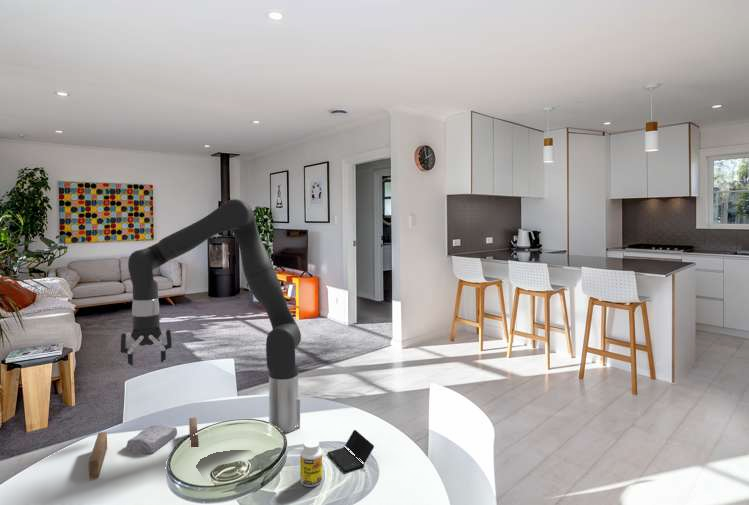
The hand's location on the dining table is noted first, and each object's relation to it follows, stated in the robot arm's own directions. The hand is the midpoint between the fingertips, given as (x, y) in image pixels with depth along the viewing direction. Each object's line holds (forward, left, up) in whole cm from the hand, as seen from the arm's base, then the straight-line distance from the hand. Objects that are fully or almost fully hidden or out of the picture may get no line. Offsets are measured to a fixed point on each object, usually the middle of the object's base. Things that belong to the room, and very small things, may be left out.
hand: (147, 363), depth 141 cm
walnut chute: (-1, +18, -21) cm, 28 cm away
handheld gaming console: (-53, +42, -21) cm, 71 cm away
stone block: (-1, +12, -21) cm, 24 cm away
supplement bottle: (-40, +48, -21) cm, 66 cm away
